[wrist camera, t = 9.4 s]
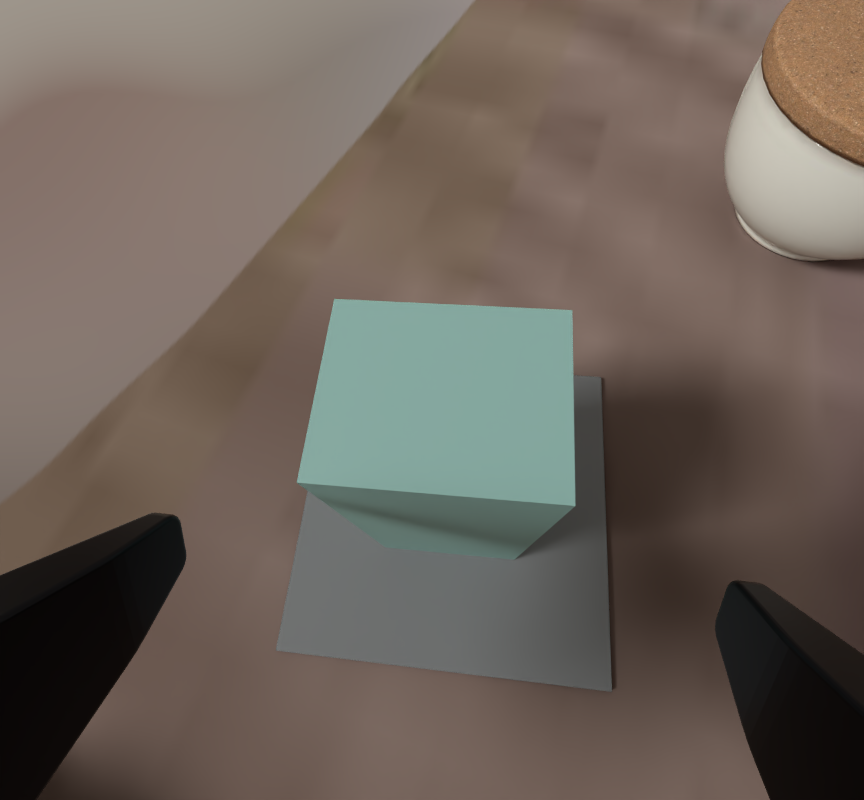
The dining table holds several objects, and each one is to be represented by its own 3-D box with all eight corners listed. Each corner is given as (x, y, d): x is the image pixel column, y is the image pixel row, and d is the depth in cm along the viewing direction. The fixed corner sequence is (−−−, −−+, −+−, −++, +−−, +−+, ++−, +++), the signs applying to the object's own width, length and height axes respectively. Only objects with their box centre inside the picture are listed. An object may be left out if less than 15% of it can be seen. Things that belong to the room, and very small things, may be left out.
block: (514, 559, 19) (575, 505, 8) (385, 547, 19) (297, 482, 9) (517, 458, 20) (572, 310, 10) (398, 449, 21) (334, 298, 10)
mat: (610, 690, 17) (612, 691, 17) (277, 649, 18) (275, 650, 18) (599, 378, 21) (600, 377, 21) (334, 361, 23) (333, 360, 22)
